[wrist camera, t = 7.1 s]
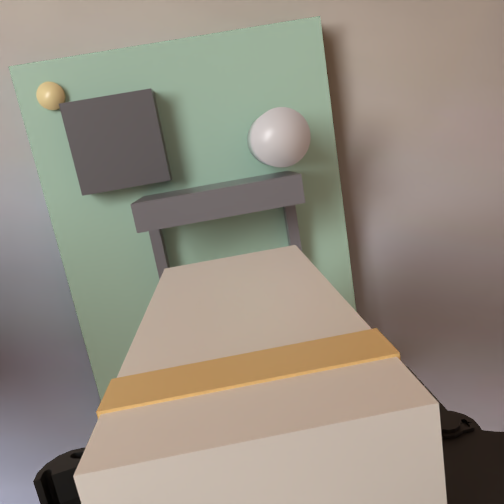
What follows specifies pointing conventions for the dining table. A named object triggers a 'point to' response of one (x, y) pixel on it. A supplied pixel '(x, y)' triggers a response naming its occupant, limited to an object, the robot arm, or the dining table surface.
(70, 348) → the dining table surface
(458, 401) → the dining table surface
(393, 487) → the plug
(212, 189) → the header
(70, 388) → the dining table surface
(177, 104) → the board
